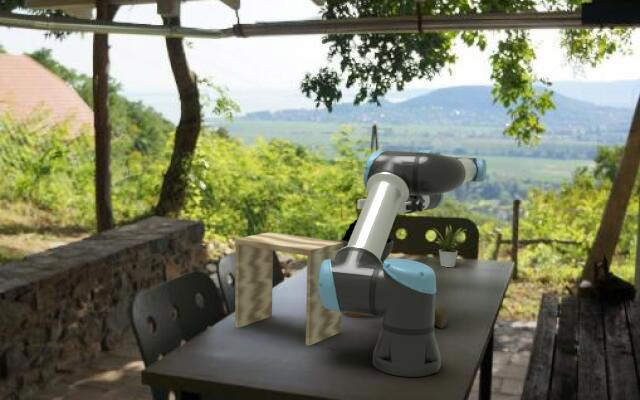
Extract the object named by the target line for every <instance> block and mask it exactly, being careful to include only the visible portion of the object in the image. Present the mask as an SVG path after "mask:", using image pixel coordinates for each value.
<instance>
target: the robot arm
mask: <svg viewBox="0 0 640 400" xmlns="http://www.w3.org/2000/svg"><path fill="white" fill-rule="evenodd" d="M364 168H365V169H364V171H363V178H362V179H363V186H364V189H365V190H366V192H367V194H368V195H367V196H363V197H362V198H361V199H357V207H356V208H357V210H361V212H360V214H359V215H358V218H357V219H358V221H357V223H356V226H355V228H354V230H353V233H352V235H351V238H350V240H349V242H348V245H347V246H346V247H344V248H342V249H340V250H339V251H338V253H337V255H336V257H335V259H334V260H331V259H328V260H324V261H323V262H322V264H321V267H320V272H319V295H320V299H321V302H322V304H323V306H324V307H325V308H326V309H328V310H333V311H338V312H340V313H341V312H342V313H345V312H346V313H354V314H362V315H366V316H370V317H371V316H372V317H379V318H381V331H380V334H379V336H378V339H377V342H376V345H375V347H374V350H373V353H372V365H373V366H374V367H375V369H376V370H379V371H381V372H383V373H386V374H389V375H392V376H399V377H408V378H411V377H413V378H416V377H418V378H419V377H424V376H425V377H426V375H427V376H430V374H431V375H434V374H435V372H436V373H438V372H439V371H440V370H441V368H440V367H442V365H441V364H442V363H441V362H442V358H441V353H440V349H439V347H438V346H439V345H438V342H437V339H436V335H435V324H434V320H435V309H436V295H437V294H436V293H437V289H438V288H437V280H436V279H437V277H436V273H435V270H434V269H433V268H432V267H430V266H428V265H427V264H425V263H423V262H419V261H416V260H411V259H405V258H394V257H393V258H386V259H385V260H384V261H383V262H381V260H380V258H381V256H382V253H383V250H384V247H385V244H386V242H387V239H389V236H390V233H391V230H392V228H393V225H394V222H395V219H396V216H397V214H404V213H405V214H413V213H415V214H418V213H421V212H423V211H429V210H431V211H432V210H434V209H436V208H437V209H438V208H439V207H440V206H441V205H442V204H443V201H444V197H445V196H444V194H446V193H449V192H453V191H455V190H457V189H459V188H460V187H461V186H462V185H463V184H466V183H467V182H471V183H472V182H473V183H477V182H479V183H482V182H484V181H485V180H486V177H487V176H486V175H487V161H486V159H485V158H482V157H481V158H480V157H457V156H456V157H454V156H451V155H443V154H441V151H440V150H435V149H434V150H433V149H420V150H419V151H403V150H402V151H398V150H397V151H396V150H388V149H387V150H377V151H374V152H373V153H371V154H370V155H369V156H368V159H367V160H366V162H365V166H364ZM439 369H440V370H439ZM438 370H439V371H438ZM437 371H438V372H437ZM433 373H434V374H433Z"/></svg>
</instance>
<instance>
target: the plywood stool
mask: <svg viewBox="0 0 640 400" xmlns="http://www.w3.org/2000/svg"><path fill="white" fill-rule="evenodd" d="M342 248H343V242H340V241H336V240H328V239H323V238H321V239H320V238H314V237H307V236H301V235H300V236H299V235H293V234H285V233H280V232H271V231H270V232H269V231H268V232H264V233H259V234H254V235H253V234H252V235H249V236H243V237H242V236H241V237H237V238H235V269H234V270H235V275H234V277H235V283H234V284H235V286H234V290H235V292H234V293H235V294H234V295H235V296H234V298H235V299H234V301H235V303H234V306H235V307H234V309H235V310H234V311H235V312H234V318H235V319H234V327H235V328H237V329H239V328H242V327H246V326H249V325H250V324H253V323H256V322H259V321H262V320H265V319H268V318H271V317H273V272H274V270H273V269H274V268H273V266H274V265H273V262H274V261H273V260H274V251H275V252H281V253H288V254H294V255H300V256H306V257H307V258H306V261H307V262H306V264H307V265H306V266H307V267H306V306H305V307H306V308H305V309H306V310H305V313H306V314H305V315H306V316H305V346H309V347H310V346H311V345H314V344H316V343H320V342H322V341H323V340H326V339H329V338H331V337H333V336H335V335H338V334H340V333H342V313H343V312H341V313H340V312H338V311H333V310H328V309H326V308H325V307H324V306H323V304H322V302H321V299H320V295H319V272H320V267H321V264H322V262H323V261H324V260H328V259H331V260H334V259H335V257H336V255H337V253H338V251H339V250H340V249H342Z"/></svg>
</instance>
